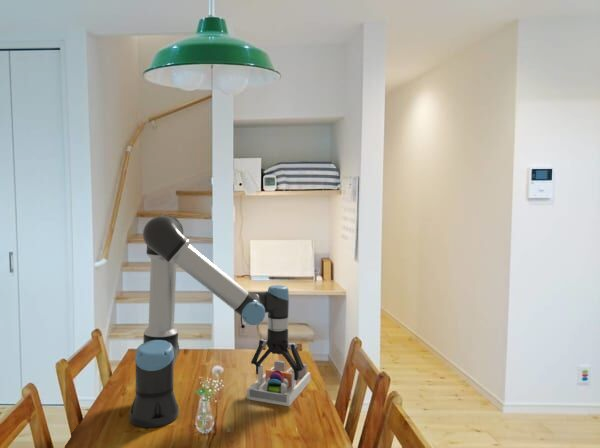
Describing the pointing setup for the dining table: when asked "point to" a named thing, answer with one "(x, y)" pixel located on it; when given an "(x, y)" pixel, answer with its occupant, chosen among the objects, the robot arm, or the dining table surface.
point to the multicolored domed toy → (276, 383)
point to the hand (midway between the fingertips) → (276, 385)
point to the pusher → (285, 374)
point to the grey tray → (285, 399)
